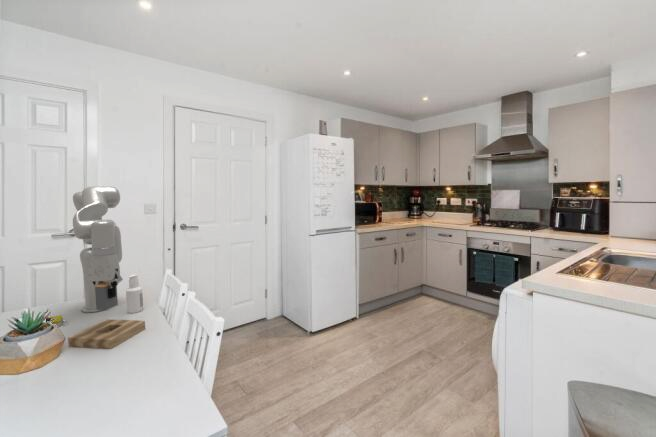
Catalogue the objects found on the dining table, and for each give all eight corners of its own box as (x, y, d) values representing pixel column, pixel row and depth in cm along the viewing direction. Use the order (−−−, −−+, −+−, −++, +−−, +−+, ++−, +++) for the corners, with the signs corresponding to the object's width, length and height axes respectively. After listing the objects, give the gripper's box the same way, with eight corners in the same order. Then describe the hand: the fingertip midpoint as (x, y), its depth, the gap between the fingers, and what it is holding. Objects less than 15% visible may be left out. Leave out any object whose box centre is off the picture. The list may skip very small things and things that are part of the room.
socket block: (68, 346, 119) (67, 337, 119) (107, 327, 137) (107, 319, 137) (111, 348, 117) (110, 339, 117) (145, 328, 135) (144, 320, 134)
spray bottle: (146, 309, 158) (144, 274, 157) (134, 314, 152) (132, 277, 151) (136, 307, 161) (134, 273, 160) (123, 312, 154) (121, 276, 153)
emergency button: (24, 318, 138) (68, 311, 146) (24, 328, 138) (69, 320, 147) (20, 325, 130) (67, 316, 139) (20, 335, 130) (67, 326, 139)
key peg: (96, 309, 123) (94, 284, 122) (109, 304, 129) (107, 280, 128) (105, 310, 122) (104, 284, 122) (117, 305, 128) (116, 281, 128)
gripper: (76, 253, 122) (79, 299, 123) (115, 253, 120) (118, 300, 121) (93, 250, 129) (96, 294, 130) (130, 250, 127) (132, 294, 128)
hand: (106, 296), depth 125 cm, fingers closed on key peg, 4 cm apart
